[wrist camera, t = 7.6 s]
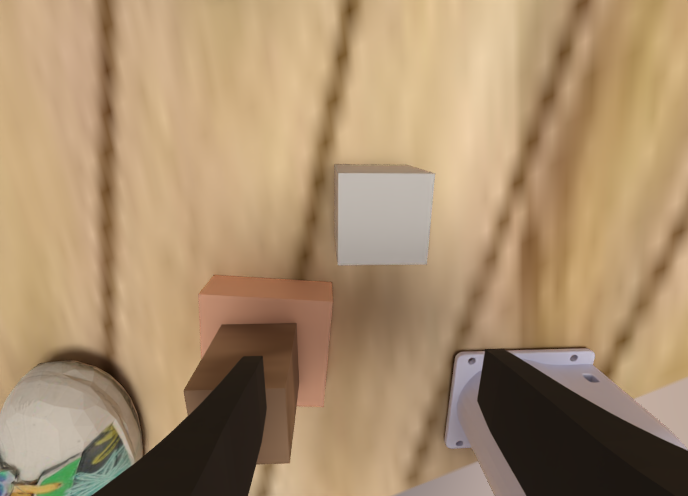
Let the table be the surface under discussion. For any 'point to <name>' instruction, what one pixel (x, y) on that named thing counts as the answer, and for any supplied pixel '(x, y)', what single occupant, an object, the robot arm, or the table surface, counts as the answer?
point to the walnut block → (278, 372)
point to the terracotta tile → (275, 320)
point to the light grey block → (382, 214)
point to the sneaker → (66, 432)
